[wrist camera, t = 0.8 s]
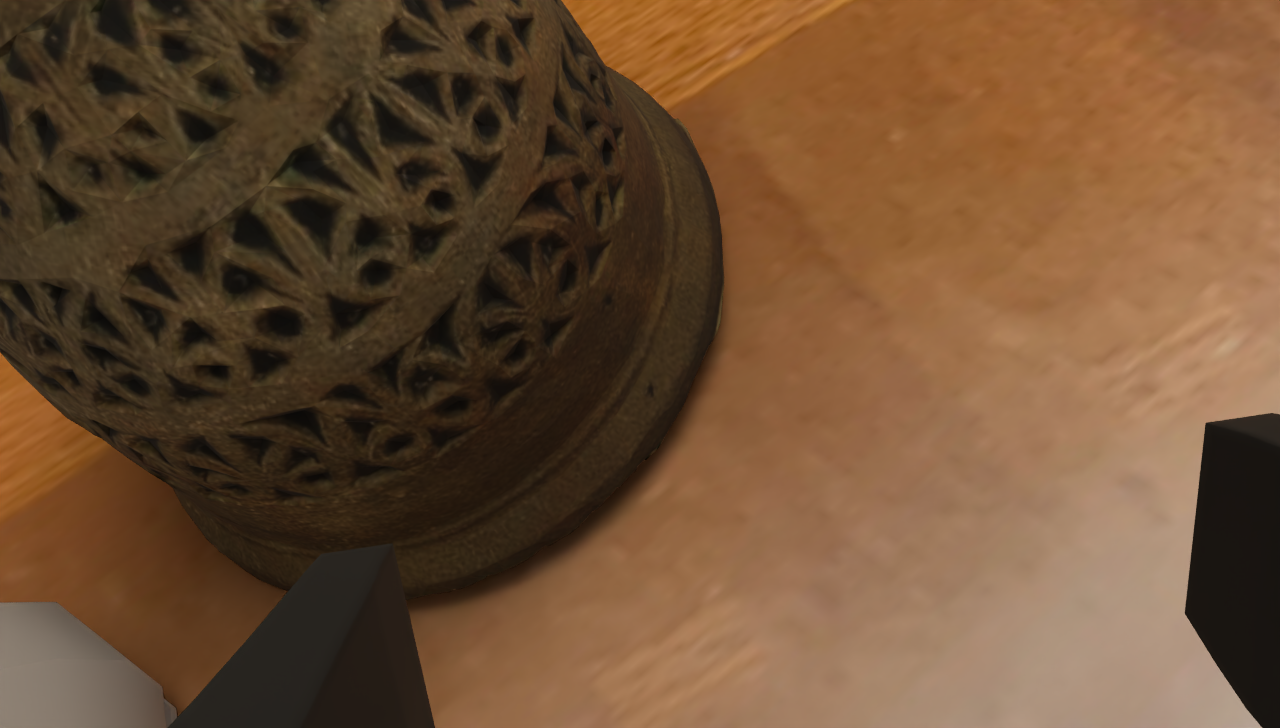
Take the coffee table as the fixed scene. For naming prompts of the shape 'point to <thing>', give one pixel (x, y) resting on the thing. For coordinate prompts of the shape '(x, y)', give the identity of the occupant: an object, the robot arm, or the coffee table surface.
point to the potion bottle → (70, 675)
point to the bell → (352, 266)
